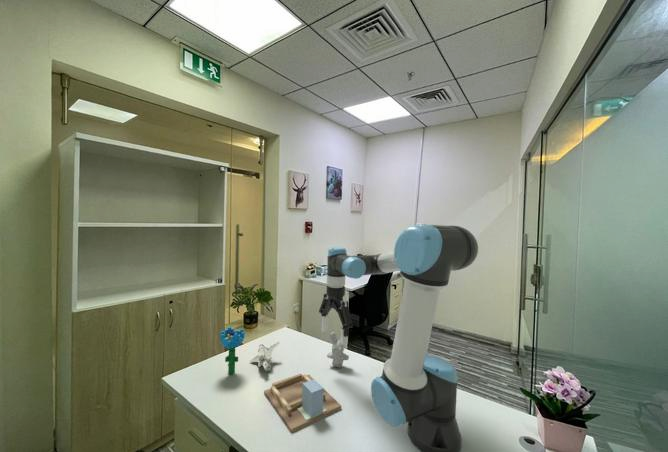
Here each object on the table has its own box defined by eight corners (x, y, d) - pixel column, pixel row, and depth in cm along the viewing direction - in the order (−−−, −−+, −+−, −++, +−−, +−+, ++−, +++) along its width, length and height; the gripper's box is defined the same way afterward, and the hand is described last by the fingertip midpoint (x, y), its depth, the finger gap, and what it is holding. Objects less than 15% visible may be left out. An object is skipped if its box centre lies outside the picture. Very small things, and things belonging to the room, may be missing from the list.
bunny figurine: (349, 365, 120) (350, 332, 119) (347, 371, 115) (348, 337, 114) (328, 362, 122) (329, 329, 121) (325, 368, 117) (326, 334, 116)
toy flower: (234, 381, 105) (235, 336, 105) (214, 377, 108) (215, 333, 108) (247, 369, 114) (248, 327, 114) (229, 365, 117) (230, 324, 116)
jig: (341, 409, 92) (341, 400, 92) (291, 433, 81) (291, 423, 81) (308, 377, 110) (309, 370, 110) (264, 393, 99) (264, 385, 99)
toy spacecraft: (274, 334, 123) (245, 353, 120) (276, 351, 108) (242, 374, 106) (283, 347, 125) (254, 367, 122) (286, 366, 110) (253, 389, 107)
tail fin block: (322, 412, 88) (323, 388, 88) (311, 417, 85) (311, 392, 85) (313, 401, 93) (314, 378, 93) (301, 406, 90) (302, 383, 90)
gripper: (363, 291, 101) (361, 347, 101) (326, 278, 121) (324, 324, 122) (347, 294, 96) (345, 352, 97) (312, 280, 117) (310, 328, 117)
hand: (334, 337), depth 109 cm, fingers open, 13 cm apart
